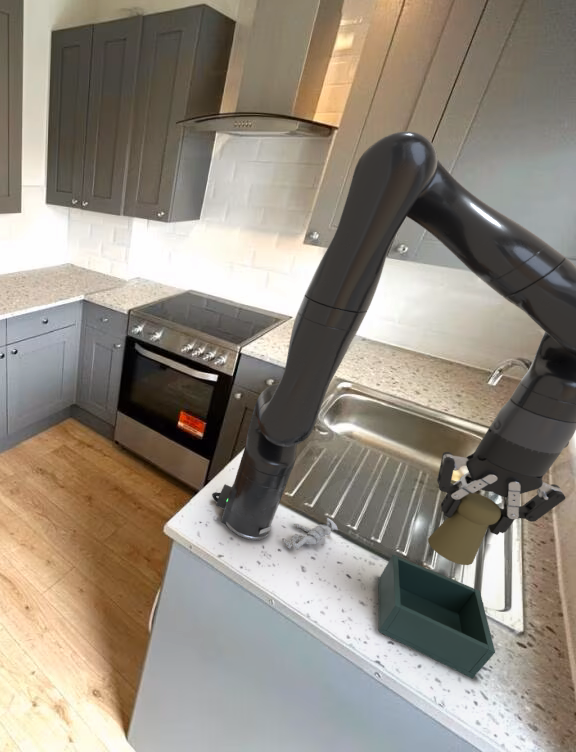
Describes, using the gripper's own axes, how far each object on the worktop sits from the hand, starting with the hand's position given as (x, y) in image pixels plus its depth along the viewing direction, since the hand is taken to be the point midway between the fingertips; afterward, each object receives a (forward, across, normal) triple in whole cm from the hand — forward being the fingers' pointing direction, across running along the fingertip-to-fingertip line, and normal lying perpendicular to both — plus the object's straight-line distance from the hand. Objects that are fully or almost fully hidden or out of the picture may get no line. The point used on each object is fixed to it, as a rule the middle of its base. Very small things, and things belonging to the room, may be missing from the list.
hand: (468, 521), depth 69 cm
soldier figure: (+21, +18, -5) cm, 28 cm away
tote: (+21, -1, +3) cm, 21 cm away
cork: (+7, 0, 0) cm, 7 cm away
